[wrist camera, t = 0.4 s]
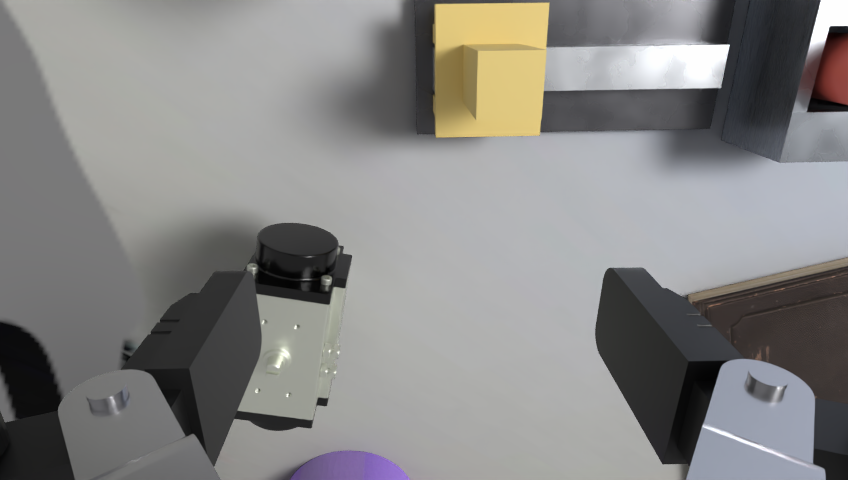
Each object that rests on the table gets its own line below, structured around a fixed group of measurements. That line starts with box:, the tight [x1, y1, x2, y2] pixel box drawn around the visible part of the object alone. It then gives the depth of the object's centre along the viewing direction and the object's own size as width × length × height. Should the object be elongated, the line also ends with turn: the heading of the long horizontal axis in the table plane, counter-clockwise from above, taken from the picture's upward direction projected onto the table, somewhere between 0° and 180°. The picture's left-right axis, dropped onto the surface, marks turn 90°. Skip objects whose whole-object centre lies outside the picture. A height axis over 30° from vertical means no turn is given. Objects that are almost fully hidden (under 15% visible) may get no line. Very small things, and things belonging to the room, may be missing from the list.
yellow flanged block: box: [433, 3, 549, 138], centre depth 28 cm, size 7×6×9 cm
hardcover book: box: [688, 258, 848, 404], centre depth 43 cm, size 16×23×2 cm
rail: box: [415, 0, 736, 134], centre depth 32 cm, size 8×19×3 cm, turn 91°
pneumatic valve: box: [234, 223, 352, 431], centre depth 33 cm, size 6×12×12 cm, turn 169°
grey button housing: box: [721, 0, 848, 163], centre depth 31 cm, size 10×6×6 cm, turn 1°
